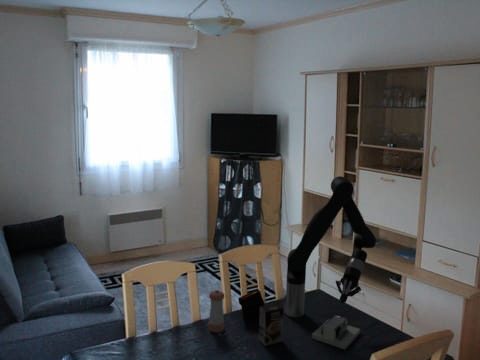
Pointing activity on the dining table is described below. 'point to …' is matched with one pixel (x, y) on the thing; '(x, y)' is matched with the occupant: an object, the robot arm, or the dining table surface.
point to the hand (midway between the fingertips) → (342, 302)
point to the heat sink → (339, 331)
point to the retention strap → (336, 321)
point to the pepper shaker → (216, 311)
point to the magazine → (251, 305)
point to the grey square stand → (330, 335)
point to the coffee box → (271, 324)
